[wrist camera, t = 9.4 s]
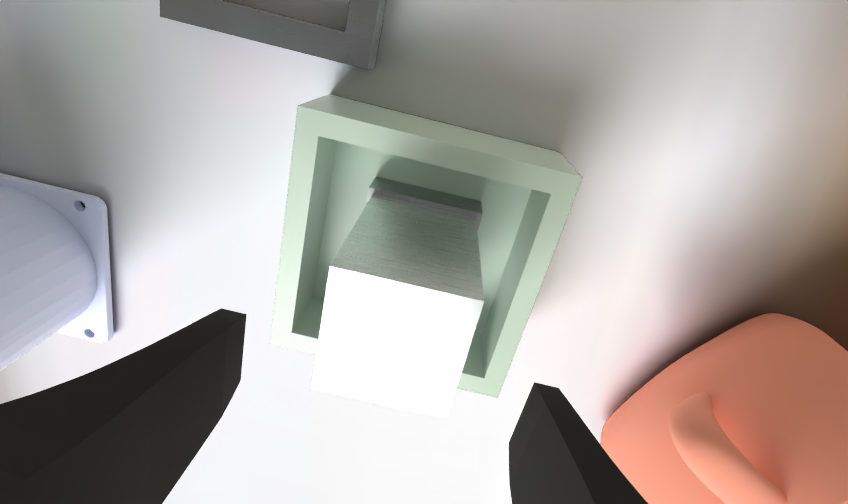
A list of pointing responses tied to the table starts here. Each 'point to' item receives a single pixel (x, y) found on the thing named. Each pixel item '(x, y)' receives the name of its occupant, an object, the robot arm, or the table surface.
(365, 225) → the strut
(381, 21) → the socket
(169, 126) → the table surface
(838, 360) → the teapot
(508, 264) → the bin
